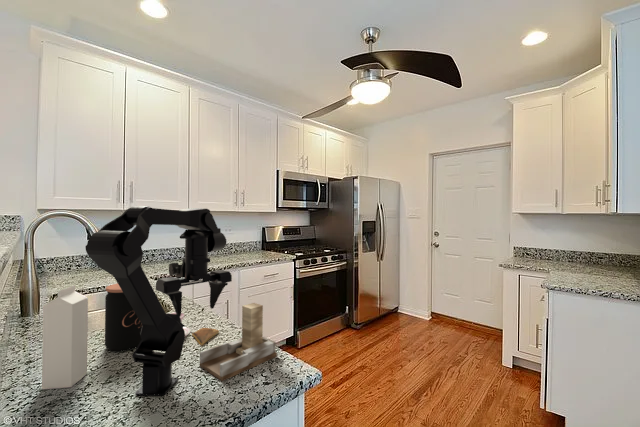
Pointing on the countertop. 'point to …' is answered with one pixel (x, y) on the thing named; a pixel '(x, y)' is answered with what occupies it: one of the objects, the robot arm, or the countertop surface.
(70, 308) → the milk
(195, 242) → the robot arm
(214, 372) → the grey brown open tray
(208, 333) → the folded crepe
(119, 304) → the coffee jar
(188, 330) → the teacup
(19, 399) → the countertop surface
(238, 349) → the beech peg
